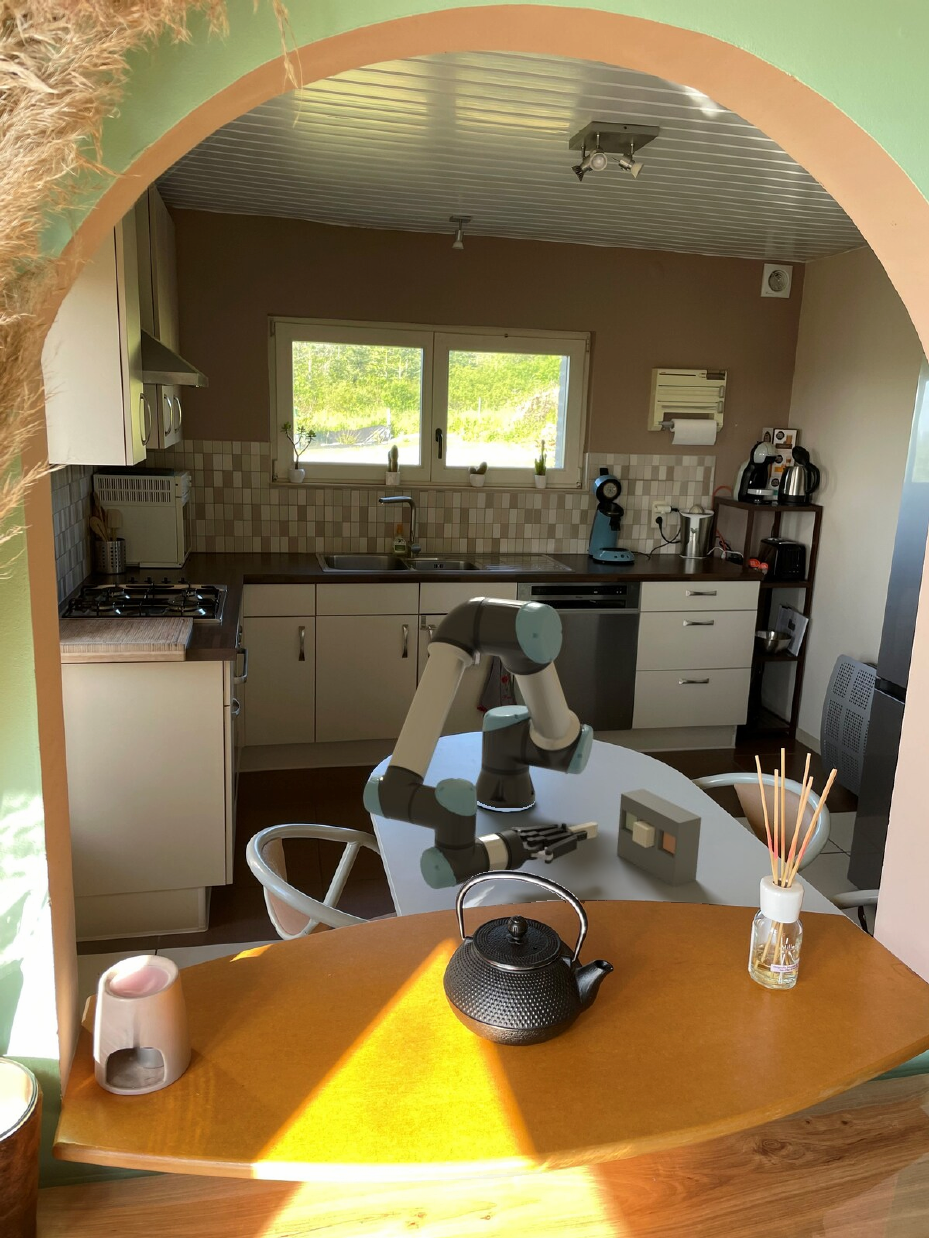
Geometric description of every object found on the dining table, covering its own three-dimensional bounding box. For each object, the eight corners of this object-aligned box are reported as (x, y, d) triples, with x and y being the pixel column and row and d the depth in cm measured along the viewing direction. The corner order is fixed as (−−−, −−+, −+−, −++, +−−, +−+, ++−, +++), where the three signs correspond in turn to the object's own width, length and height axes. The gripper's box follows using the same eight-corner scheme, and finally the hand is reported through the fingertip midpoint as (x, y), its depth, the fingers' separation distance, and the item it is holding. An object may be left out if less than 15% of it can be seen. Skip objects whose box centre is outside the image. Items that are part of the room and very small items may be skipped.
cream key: (632, 840, 190) (633, 822, 189) (647, 836, 192) (648, 818, 191) (645, 847, 186) (647, 829, 186) (660, 843, 188) (661, 826, 188)
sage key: (625, 827, 196) (626, 810, 195) (639, 823, 198) (641, 806, 197) (638, 834, 193) (639, 817, 192) (652, 830, 195) (654, 813, 194)
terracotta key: (662, 847, 187) (664, 829, 186) (677, 843, 189) (678, 826, 188) (676, 855, 183) (678, 837, 183) (691, 851, 185) (693, 833, 185)
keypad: (616, 855, 197) (621, 793, 195) (638, 849, 201) (642, 788, 198) (673, 889, 183) (679, 823, 181) (695, 882, 186) (701, 817, 184)
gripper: (479, 857, 183) (574, 834, 195) (516, 885, 172) (614, 858, 184) (480, 821, 181) (576, 800, 193) (518, 847, 170) (617, 823, 183)
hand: (594, 828), depth 189 cm, fingers closed
